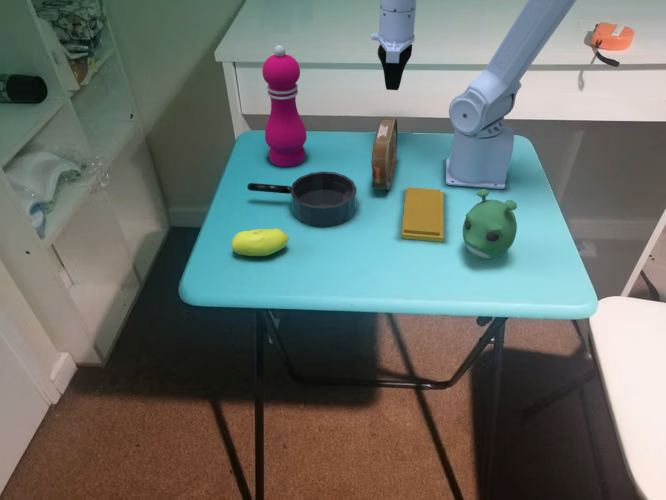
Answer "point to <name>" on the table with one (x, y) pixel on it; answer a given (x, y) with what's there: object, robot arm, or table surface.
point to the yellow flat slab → (423, 215)
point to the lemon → (259, 242)
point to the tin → (384, 154)
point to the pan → (323, 199)
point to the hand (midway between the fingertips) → (392, 88)
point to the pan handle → (269, 188)
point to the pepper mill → (283, 110)
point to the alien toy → (490, 227)
